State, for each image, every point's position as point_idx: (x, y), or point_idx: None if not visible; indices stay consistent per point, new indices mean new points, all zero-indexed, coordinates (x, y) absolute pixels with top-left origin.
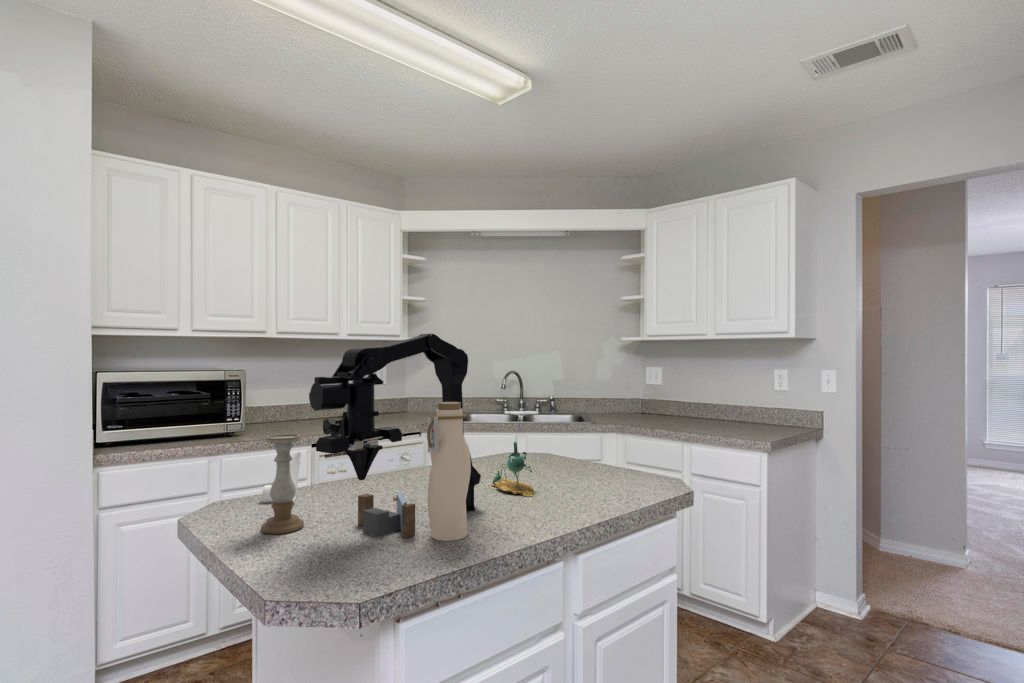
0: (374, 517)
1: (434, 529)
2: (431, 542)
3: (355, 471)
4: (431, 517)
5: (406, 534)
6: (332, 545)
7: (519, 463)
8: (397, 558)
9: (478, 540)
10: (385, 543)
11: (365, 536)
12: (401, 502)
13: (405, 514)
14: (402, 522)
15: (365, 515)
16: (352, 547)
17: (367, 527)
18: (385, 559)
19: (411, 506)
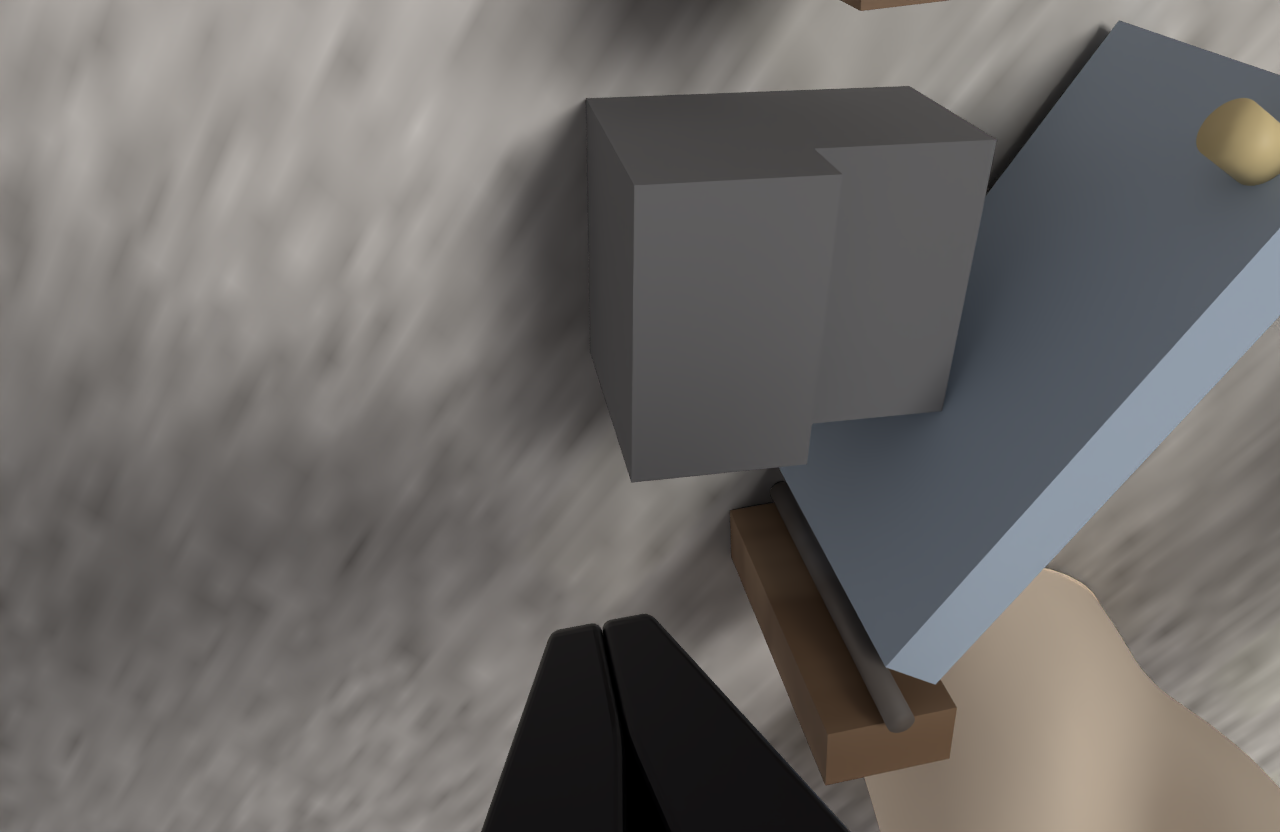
0: (622, 411)
1: None
2: (778, 715)
3: (487, 814)
4: (891, 823)
5: (740, 574)
6: (66, 285)
7: None
8: (407, 818)
9: None
10: (527, 552)
11: (503, 273)
12: (955, 594)
13: (797, 699)
14: (770, 601)
15: (622, 213)
16: (233, 465)
17: (596, 207)
18: (330, 797)
19: (887, 762)
